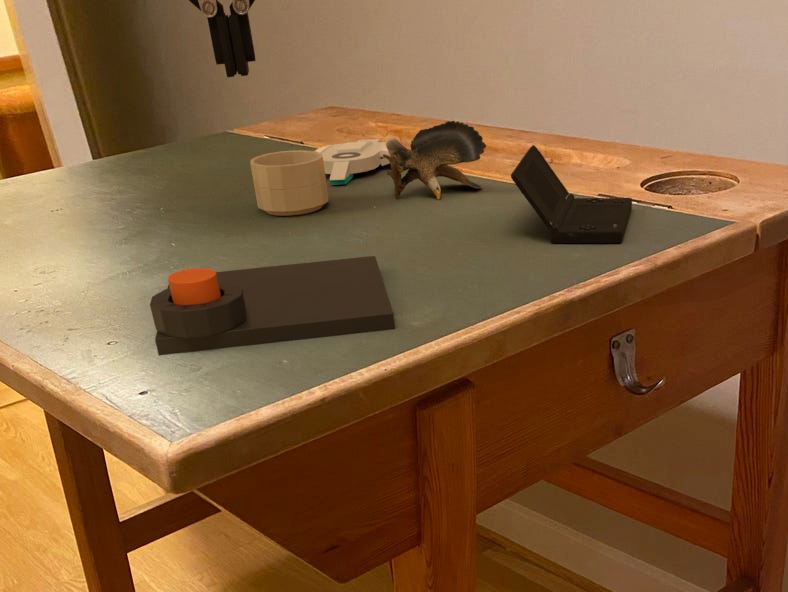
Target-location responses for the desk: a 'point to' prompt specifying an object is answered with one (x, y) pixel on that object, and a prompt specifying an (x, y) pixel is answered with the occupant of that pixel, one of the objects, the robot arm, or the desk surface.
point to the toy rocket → (352, 158)
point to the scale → (277, 306)
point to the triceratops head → (435, 156)
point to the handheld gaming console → (569, 205)
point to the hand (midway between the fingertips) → (238, 73)
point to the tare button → (194, 286)
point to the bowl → (289, 182)
